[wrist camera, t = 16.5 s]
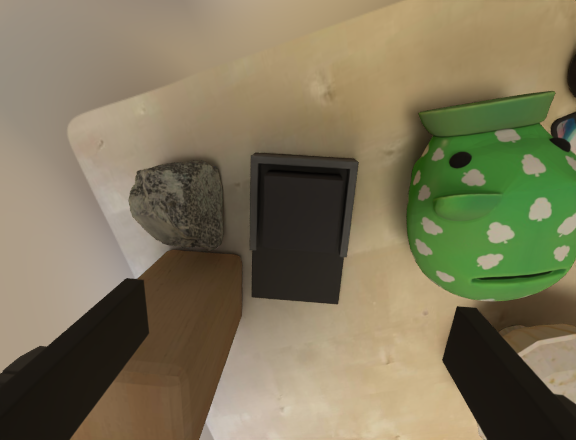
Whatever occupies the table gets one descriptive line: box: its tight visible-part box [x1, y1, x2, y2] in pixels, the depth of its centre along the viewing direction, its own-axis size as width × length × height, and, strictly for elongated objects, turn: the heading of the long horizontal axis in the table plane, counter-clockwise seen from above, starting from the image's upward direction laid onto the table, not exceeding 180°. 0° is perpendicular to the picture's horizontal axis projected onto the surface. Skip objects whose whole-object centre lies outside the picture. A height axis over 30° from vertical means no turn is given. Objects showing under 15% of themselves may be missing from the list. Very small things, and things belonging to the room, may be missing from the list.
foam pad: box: [262, 170, 343, 253], centre depth 34 cm, size 8×8×4 cm
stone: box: [129, 161, 223, 251], centre depth 34 cm, size 10×10×10 cm
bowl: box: [477, 324, 576, 440], centre depth 36 cm, size 19×19×10 cm
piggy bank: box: [406, 91, 576, 301], centre depth 28 cm, size 14×18×15 cm
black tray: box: [250, 153, 359, 304], centre depth 36 cm, size 19×11×3 cm, turn 177°
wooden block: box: [70, 250, 242, 440], centre depth 31 cm, size 10×10×20 cm
